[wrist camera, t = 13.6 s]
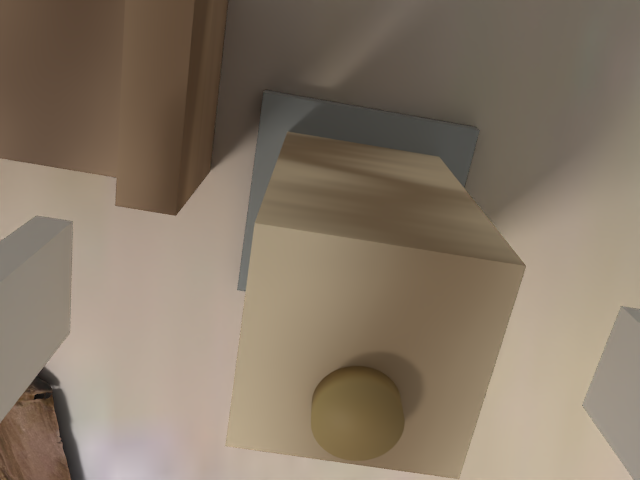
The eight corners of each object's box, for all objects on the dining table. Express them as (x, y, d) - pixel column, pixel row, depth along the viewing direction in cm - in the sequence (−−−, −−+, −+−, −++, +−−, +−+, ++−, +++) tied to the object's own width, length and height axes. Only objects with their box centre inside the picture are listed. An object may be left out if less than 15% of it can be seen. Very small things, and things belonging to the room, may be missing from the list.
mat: (239, 283, 21) (237, 289, 21) (265, 90, 19) (263, 92, 18) (426, 312, 22) (428, 320, 21) (475, 126, 19) (479, 129, 19)
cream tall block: (267, 271, 21) (220, 466, 12) (287, 131, 19) (250, 234, 10) (406, 293, 21) (465, 500, 12) (439, 156, 19) (536, 279, 10)
